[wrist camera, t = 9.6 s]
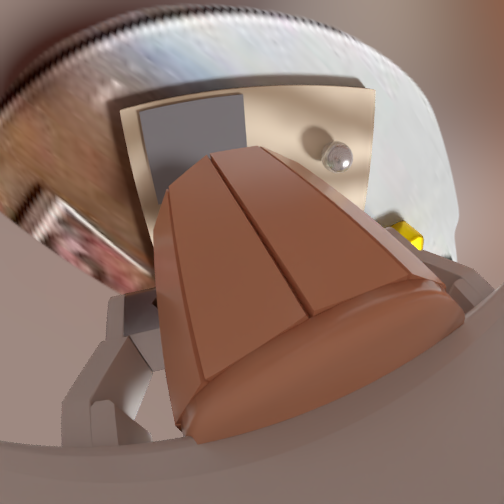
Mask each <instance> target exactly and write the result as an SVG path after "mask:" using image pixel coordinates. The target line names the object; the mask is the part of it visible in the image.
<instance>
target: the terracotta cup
mask: <svg viewBox="0 0 504 504" xmlns="http://www.w3.org/2000/svg"><path fill="white" fill-rule="evenodd" d="M153 244H154V266H155V282H156V294H157V307H158V316H159V326H160V335H161V344H162V351H163V358H164V365H165V372H166V378H167V384H168V390H169V396H170V401H171V406H172V411H173V416H174V421H175V425H176V427H177V428H178V429H179V430H180V431H181V432H182V433H183V437H186V436H191V437H193V439H194V440H195V441H196V443H197V445H198V444H202V443H207V442H212V441H216V440H220V439H224V438H228V437H232V436H236V435H240V434H243V433H247V432H250V431H254V430H257V429H260V428H264V427H267V426H270V425H273V424H276V423H279V422H282V421H285V420H287V419H290V418H293V417H296V416H298V415H301V414H304V413H306V412H309V411H311V410H314V409H316V408H318V407H321V406H323V405H326V404H328V403H330V402H332V401H335V400H337V399H339V398H341V397H343V396H346V395H348V394H350V393H352V392H354V391H356V390H358V389H360V388H362V387H364V386H366V385H368V384H370V383H372V382H374V381H376V380H377V379H379V378H381V377H383V376H385V375H387V374H388V373H390V372H392V371H394V370H395V369H397V368H399V367H401V366H402V365H404V364H406V363H407V362H409V361H410V360H412V359H414V358H415V357H417V356H418V355H420V354H422V353H423V352H425V351H426V350H428V349H429V348H431V347H432V346H434V345H435V344H437V343H438V342H439V341H441V340H442V339H444V338H445V337H447V336H448V335H449V334H451V333H452V332H453V331H455V330H456V329H457V328H459V327H460V326H461V325H463V324H464V320H465V313H464V311H463V309H462V308H461V307H460V306H459V305H458V304H457V303H456V302H455V301H454V300H453V298H452V297H451V296H450V295H449V294H448V293H447V292H446V286H445V284H444V283H443V282H442V281H441V280H440V279H439V278H438V277H437V276H436V275H435V274H434V273H433V272H432V271H431V270H430V269H429V268H428V267H427V266H426V265H425V264H424V263H423V262H422V261H420V260H419V259H418V258H417V257H416V256H415V255H414V254H413V253H412V252H411V251H410V250H408V249H407V248H406V247H405V246H404V245H403V244H402V243H401V242H400V241H398V240H397V239H396V238H395V237H394V236H393V235H392V234H390V233H389V232H388V231H387V230H386V229H385V228H383V227H382V226H381V225H380V224H379V223H377V222H376V221H375V220H374V219H373V218H371V217H370V216H369V215H368V214H366V213H365V212H364V211H363V210H361V209H360V208H359V207H358V206H356V205H355V204H354V203H353V202H351V201H350V200H349V199H347V198H346V197H345V196H344V195H342V194H341V193H340V192H338V191H337V190H336V189H334V188H333V187H332V186H330V185H329V184H327V183H326V182H325V181H323V180H322V179H321V178H319V177H318V176H316V175H315V174H314V173H312V172H311V171H309V170H308V169H307V168H305V167H304V166H302V165H301V164H299V163H298V162H296V161H294V160H291V159H289V158H287V157H285V156H283V155H280V154H278V153H276V152H273V151H271V150H269V149H267V148H264V147H262V146H260V147H259V146H251V147H244V148H237V149H231V150H225V151H219V152H214V153H210V158H209V157H208V156H207V155H206V156H204V157H203V158H202V159H201V160H199V161H198V162H197V163H196V164H194V165H193V166H192V167H191V168H190V169H188V170H187V171H186V172H185V173H184V174H182V175H181V176H180V177H179V178H178V179H176V180H175V181H174V182H173V183H172V184H171V185H169V189H167V190H166V192H165V195H164V198H163V201H162V204H161V207H160V210H159V213H158V216H157V219H156V223H155V226H154V229H153Z"/></svg>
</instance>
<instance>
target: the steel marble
mask: <svg viewBox="0 0 504 504" xmlns="http://www.w3.org/2000/svg"><path fill="white" fill-rule="evenodd" d="M321 161H322V164H323V166H324V167H325V168H326V169H327V170H328V171H330V172H332V173H343V172H345V171H347V170H348V169H349V168H350V167H351V165H352V163H353V153H352V151H351V149H350V148H349V146H347V145H346V144H345V143H343V142H340V141H332V142H330V143H328V144H326V145H325V146H324V147H323V149H322V151H321Z"/></svg>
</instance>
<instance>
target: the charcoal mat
mask: <svg viewBox="0 0 504 504" xmlns="http://www.w3.org/2000/svg"><path fill="white" fill-rule="evenodd" d="M139 113H140V119H141V125H142V131H143V136H144V141H145V146H146V151H147V156H148V161H149V166H150V170H151V175H152V179H153V184H154V188H155V192H156V197H157V201H158V205H159V204H162V201H163V198H164V195H165V192H166V190H167V189H169V185H171V184H172V183H173V182H174V181H175V180H176V179H178V178H179V177H180V176H181V175H182V174H184V173H185V172H186V171H187V170H188V169H190V168H191V167H192V166H193V165H194V164H196V163H197V162H198V161H199V160H201V159H202V158H203V157H204V156H206V155H207V156H208V157H209V158H210V153H214V152H219V151H225V150H231V149H237V148H244V147H247V140H246V126H245V112H244V99H243V94H238V95H229V96H221V97H213V98H206V99H199V100H193V101H187V102H182V103H176V104H171V105H166V106H161V107H157V108H152V109H148V110H144V111H140V112H139Z"/></svg>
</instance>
